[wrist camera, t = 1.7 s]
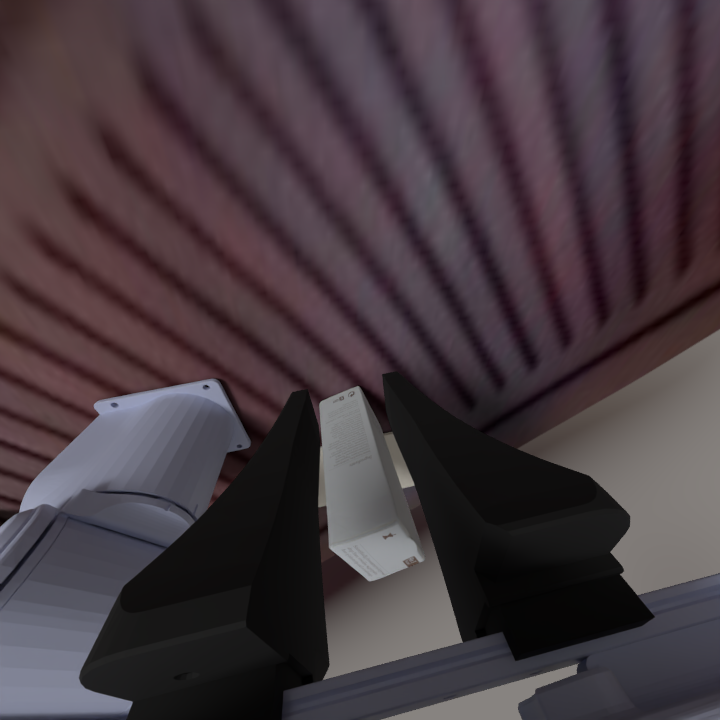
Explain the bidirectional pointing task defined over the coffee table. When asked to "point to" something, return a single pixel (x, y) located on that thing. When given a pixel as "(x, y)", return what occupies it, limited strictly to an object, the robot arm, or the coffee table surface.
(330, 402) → the skincare box
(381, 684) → the robot arm
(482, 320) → the coffee table surface
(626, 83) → the coffee table surface
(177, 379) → the coffee table surface
